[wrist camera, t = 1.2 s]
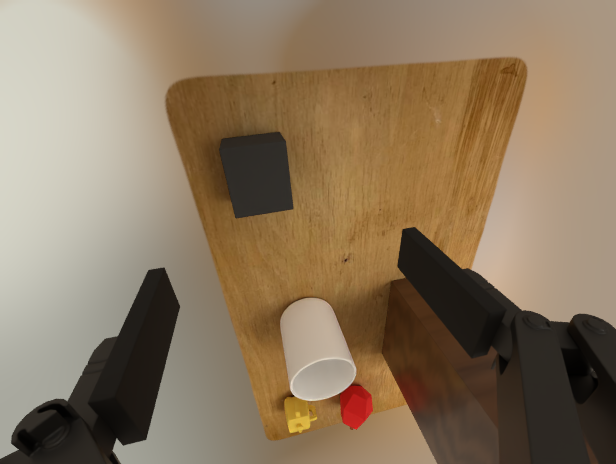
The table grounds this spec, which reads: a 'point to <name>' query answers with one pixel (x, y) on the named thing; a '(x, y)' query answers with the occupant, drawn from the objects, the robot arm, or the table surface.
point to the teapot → (298, 414)
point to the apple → (355, 406)
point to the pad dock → (443, 382)
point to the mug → (315, 350)
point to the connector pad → (257, 173)
